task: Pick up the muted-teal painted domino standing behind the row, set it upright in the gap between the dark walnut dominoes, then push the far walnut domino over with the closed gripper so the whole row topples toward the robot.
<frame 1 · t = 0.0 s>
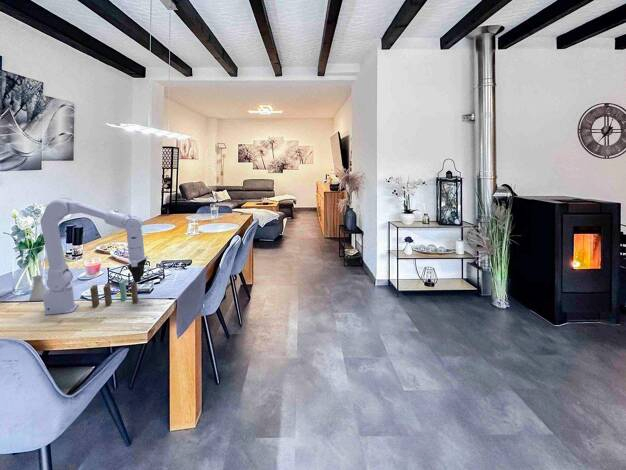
hand: (139, 279, 152), 10 cm above the table, fingers open, 7 cm apart
domino 4: (96, 305, 151), on the table
domino 3: (108, 304, 152), on the table
domino 1: (135, 301, 155), on the table
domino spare: (124, 299, 158), on the table
flask: (40, 299, 158), on the table
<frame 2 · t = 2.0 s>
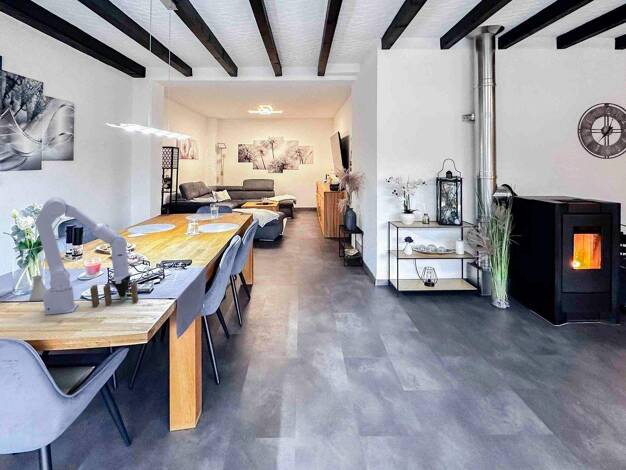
hand: (123, 294, 157), 2 cm above the table, fingers closed on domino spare, 4 cm apart
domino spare: (124, 299, 158), on the table, touching gripper
everything else where it was.
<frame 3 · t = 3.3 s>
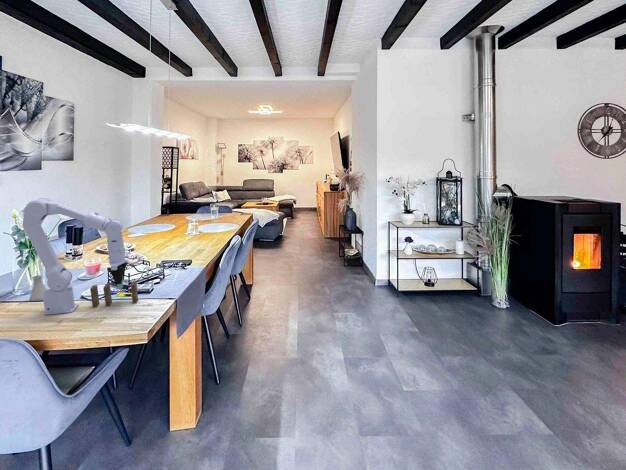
hand: (119, 282, 152), 9 cm above the table, fingers closed on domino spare, 4 cm apart
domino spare: (120, 287, 152), point 7 cm above the table, touching gripper
everything else where it was.
when the fingers open (3 cm above the table, at t = 4.8 s): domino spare stays where it is, on the table.
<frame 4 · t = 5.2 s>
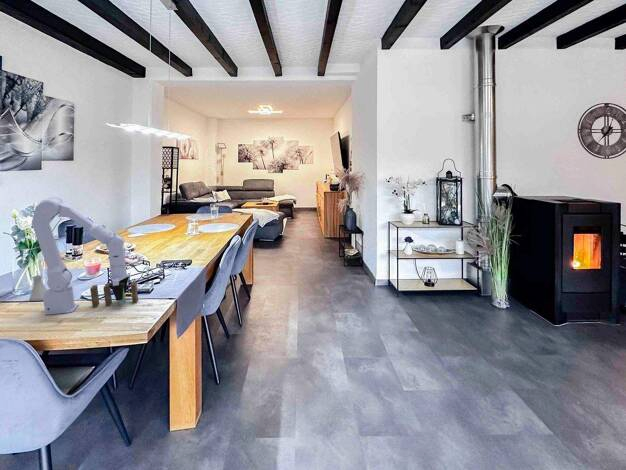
hand: (121, 296, 153), 3 cm above the table, fingers open, 7 cm apart
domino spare: (122, 302, 154), on the table
everything else where it was.
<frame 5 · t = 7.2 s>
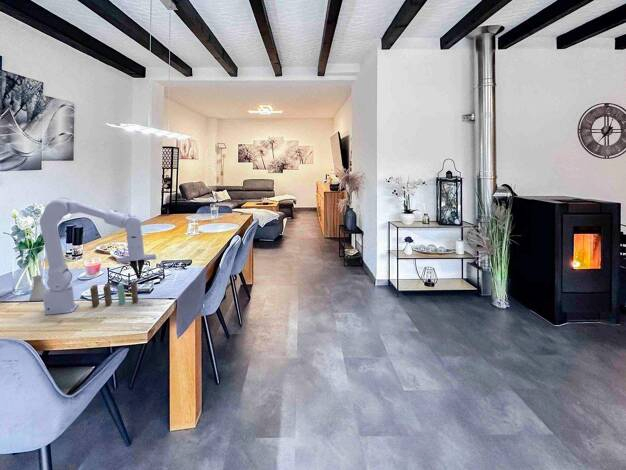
hand: (138, 278, 154), 10 cm above the table, fingers closed
nothing on the table moved.
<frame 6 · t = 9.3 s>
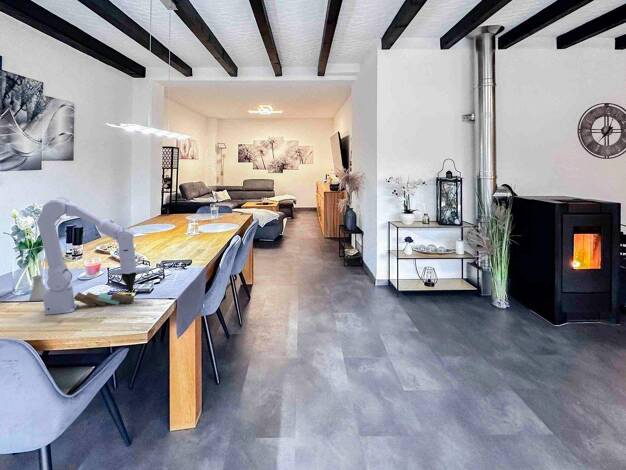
hand: (130, 290, 154), 5 cm above the table, fingers closed
domino 4: (96, 303, 151), point 1 cm above the table, tilted 57°, touching arm, domino 3
domino 3: (106, 302, 152), point 1 cm above the table, tilted 61°, touching domino 4, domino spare
domino 1: (132, 300, 155), point 1 cm above the table, tilted 71°
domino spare: (119, 301, 153), point 1 cm above the table, tilted 68°, touching domino 3
everything else where it was.
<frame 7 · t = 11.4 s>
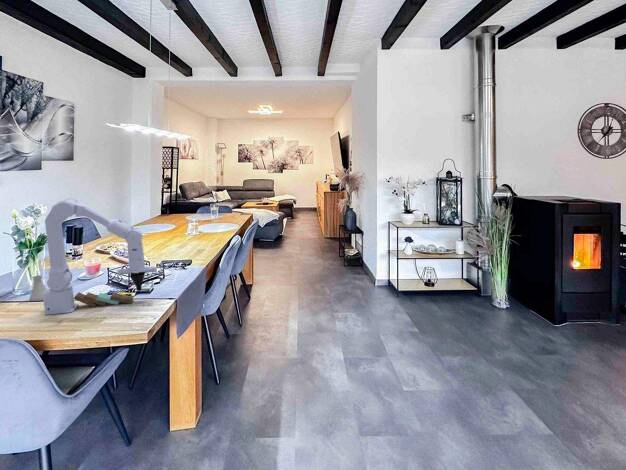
hand: (139, 289, 155), 5 cm above the table, fingers closed
domino 1: (132, 300, 155), point 1 cm above the table, tilted 70°, touching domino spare
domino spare: (119, 301, 153), point 1 cm above the table, tilted 67°, touching domino 1, domino 3
everything else where it was.
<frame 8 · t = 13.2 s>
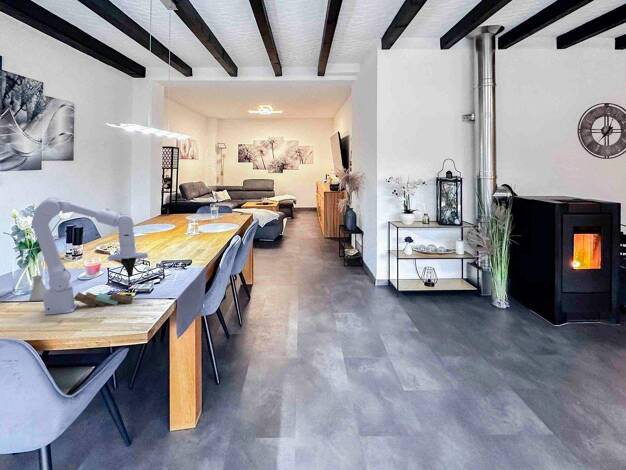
hand: (130, 275, 156), 10 cm above the table, fingers closed
nothing on the table moved.
at the end: domino 4 tilted 57°; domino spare tilted 66°; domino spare 1.4 cm from the target spot, point 0.6 cm above the table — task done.
